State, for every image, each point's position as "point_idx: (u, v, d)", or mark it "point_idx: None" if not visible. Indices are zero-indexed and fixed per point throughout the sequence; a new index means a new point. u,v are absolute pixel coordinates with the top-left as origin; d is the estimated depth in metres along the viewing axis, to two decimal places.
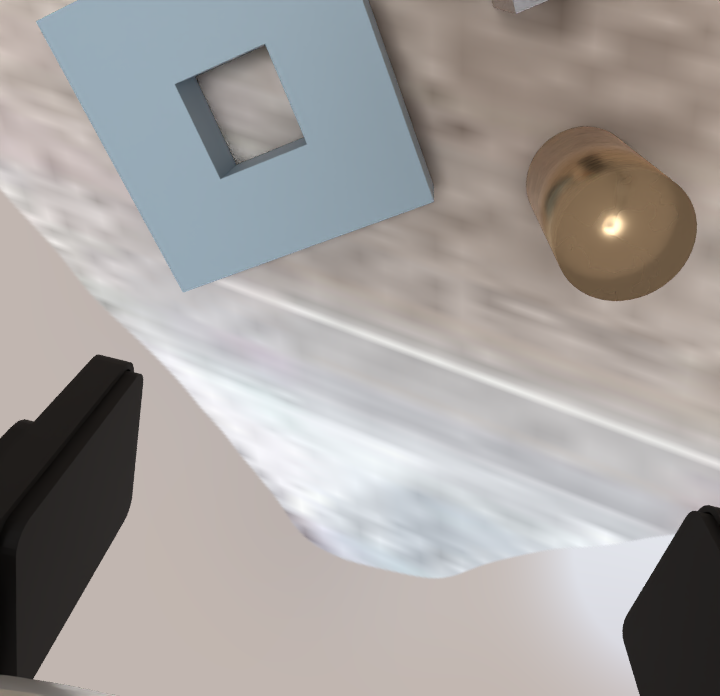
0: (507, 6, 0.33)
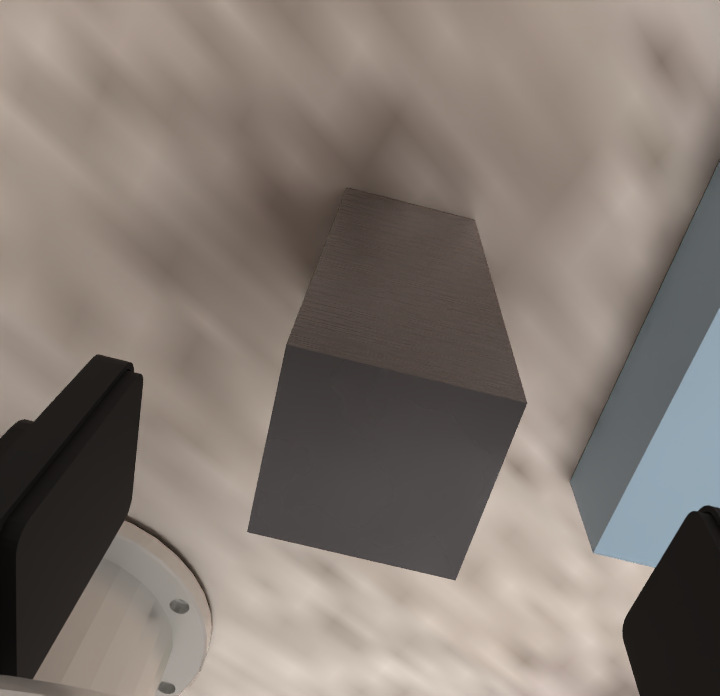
0: None
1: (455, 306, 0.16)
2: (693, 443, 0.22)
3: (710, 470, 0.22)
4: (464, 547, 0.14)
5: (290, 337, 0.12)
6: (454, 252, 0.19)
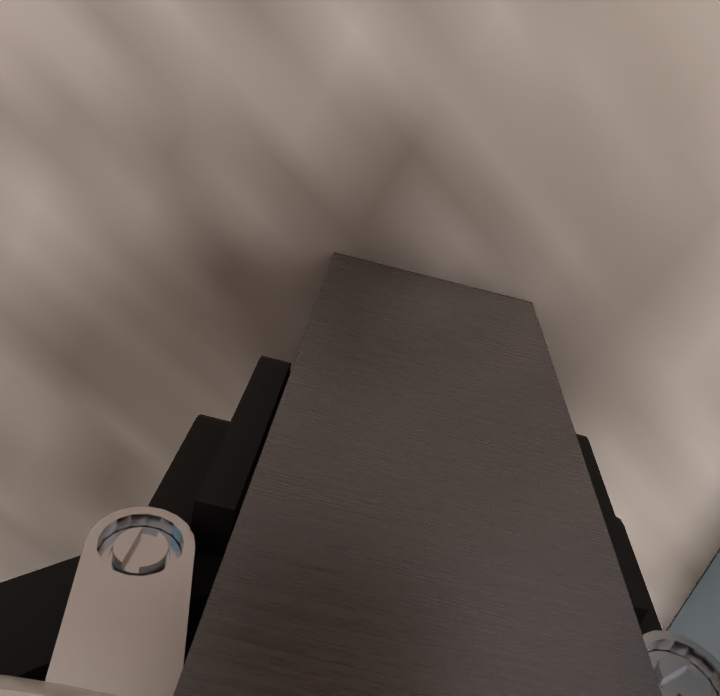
0: None
1: (533, 577, 0.08)
2: None
3: None
4: None
5: None
6: (512, 391, 0.11)
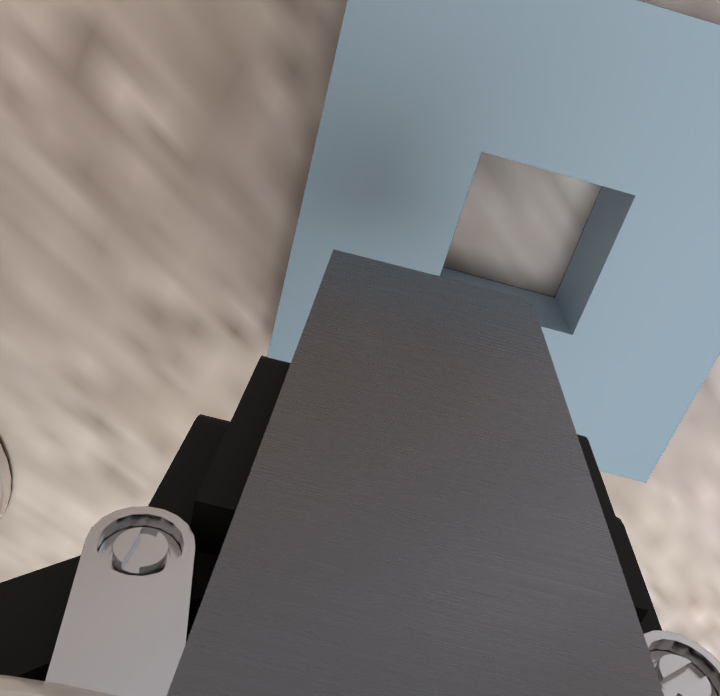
0: None
1: (532, 574, 0.07)
2: (314, 287, 0.28)
3: None
4: None
5: None
6: (511, 387, 0.11)
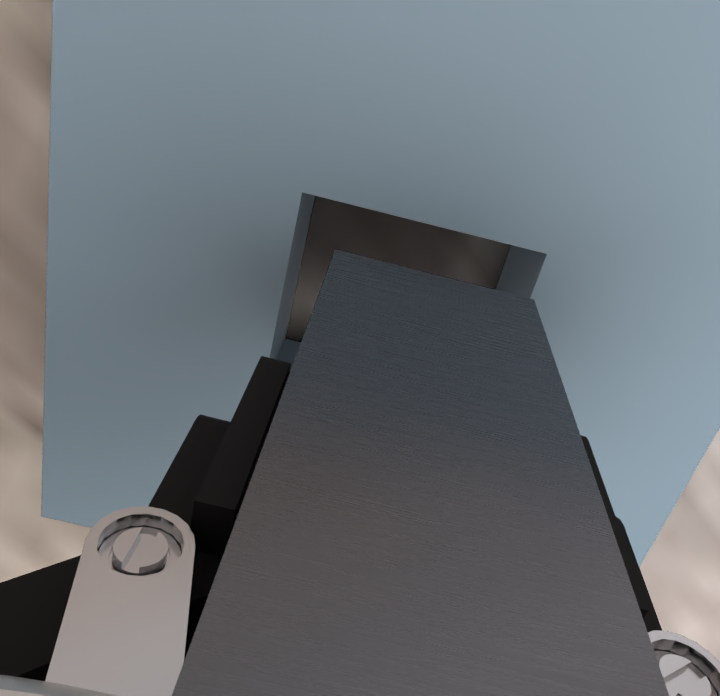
0: None
1: (537, 575, 0.07)
2: (88, 390, 0.19)
3: (120, 421, 0.20)
4: None
5: None
6: (514, 387, 0.11)
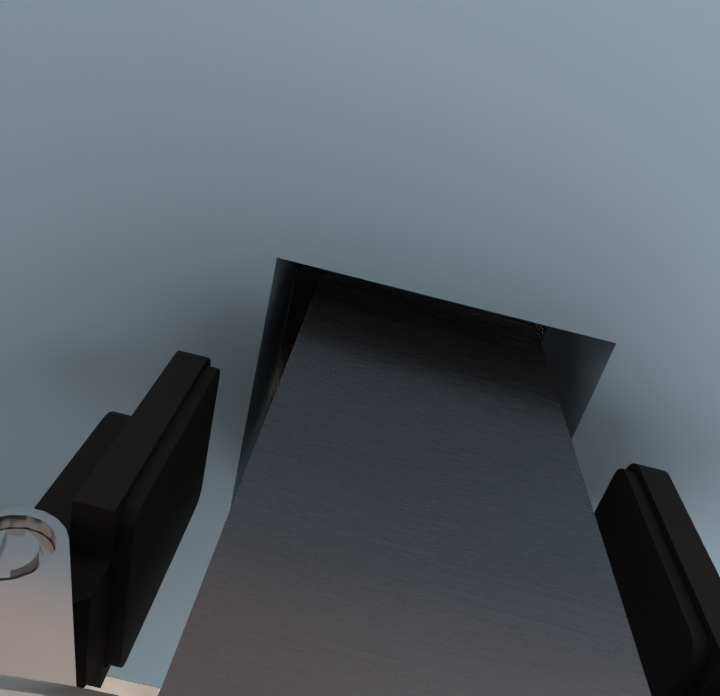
0: None
1: (515, 515, 0.08)
2: (6, 499, 0.15)
3: None
4: None
5: None
6: (501, 361, 0.12)
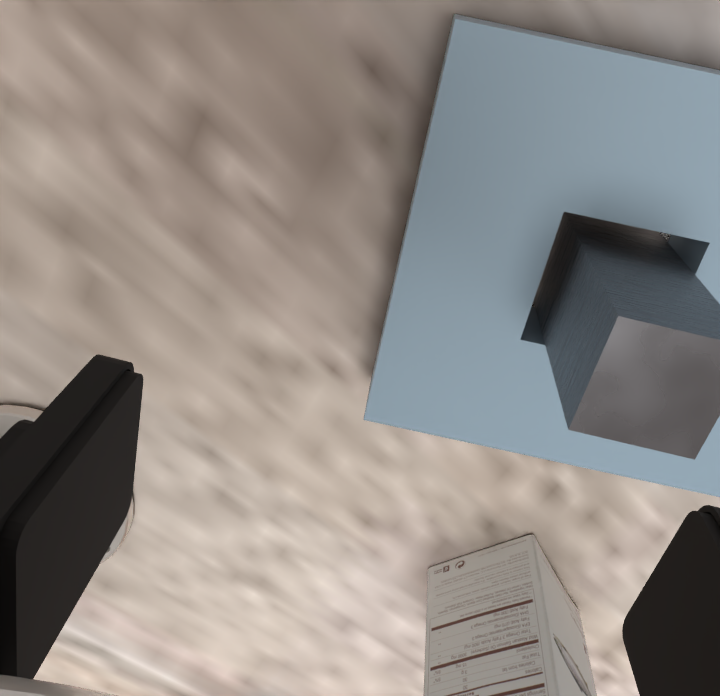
0: None
1: (685, 291, 0.24)
2: (411, 335, 0.31)
3: (427, 354, 0.32)
4: (704, 438, 0.23)
5: (616, 311, 0.21)
6: (659, 252, 0.28)
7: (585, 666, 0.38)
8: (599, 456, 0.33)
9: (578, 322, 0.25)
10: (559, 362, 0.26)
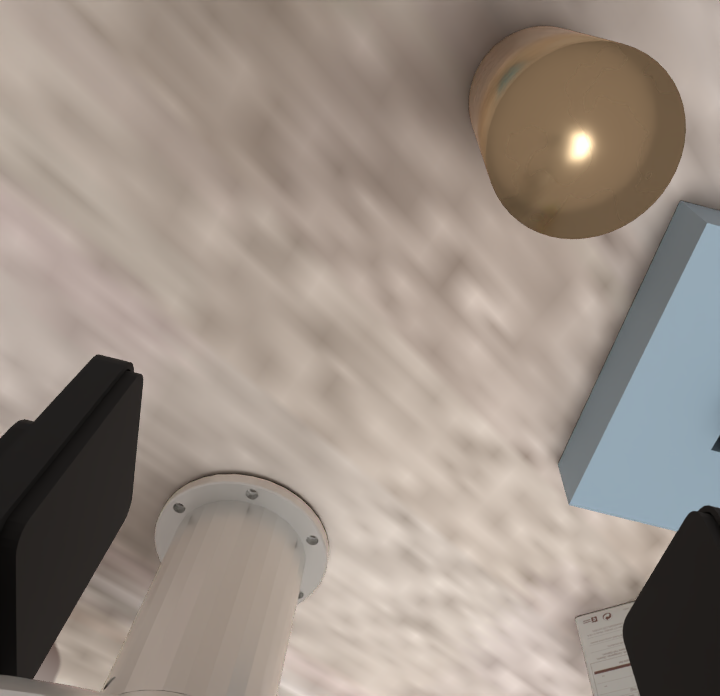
0: None
1: None
2: (623, 442, 0.39)
3: (633, 458, 0.39)
4: None
5: None
6: None
7: None
8: None
9: None
10: None
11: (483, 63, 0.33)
